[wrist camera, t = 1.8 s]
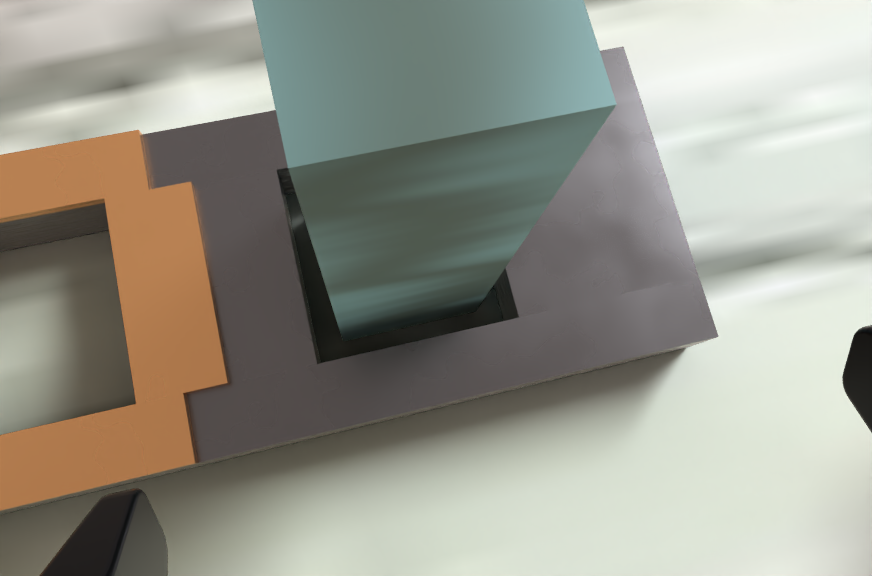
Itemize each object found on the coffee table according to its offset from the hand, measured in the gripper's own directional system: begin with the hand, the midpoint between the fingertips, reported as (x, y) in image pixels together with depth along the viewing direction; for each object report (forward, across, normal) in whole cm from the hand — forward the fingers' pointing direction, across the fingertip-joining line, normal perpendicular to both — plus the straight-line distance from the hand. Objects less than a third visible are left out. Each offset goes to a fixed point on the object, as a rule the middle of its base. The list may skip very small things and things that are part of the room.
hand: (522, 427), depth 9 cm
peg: (+12, 0, +5) cm, 13 cm away
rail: (+12, +5, +5) cm, 14 cm away
